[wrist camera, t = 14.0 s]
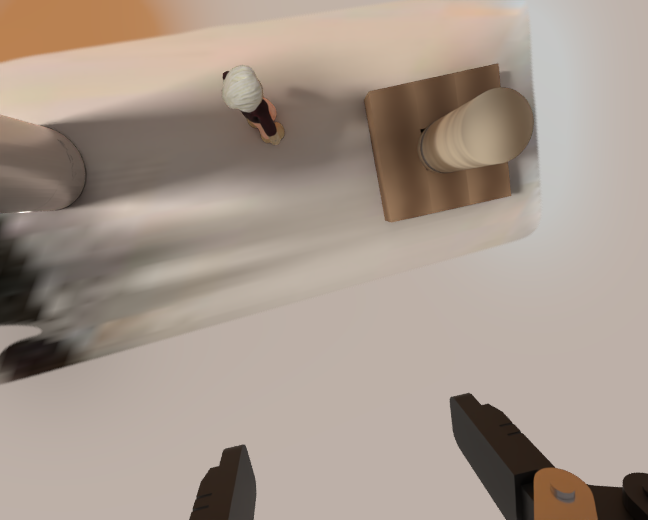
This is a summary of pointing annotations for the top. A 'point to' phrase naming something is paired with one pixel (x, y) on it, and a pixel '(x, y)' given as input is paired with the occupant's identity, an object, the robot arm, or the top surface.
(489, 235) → the top surface
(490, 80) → the walnut board
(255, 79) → the grandmother figurine
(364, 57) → the top surface
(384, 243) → the top surface
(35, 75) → the top surface
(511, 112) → the beech peg
